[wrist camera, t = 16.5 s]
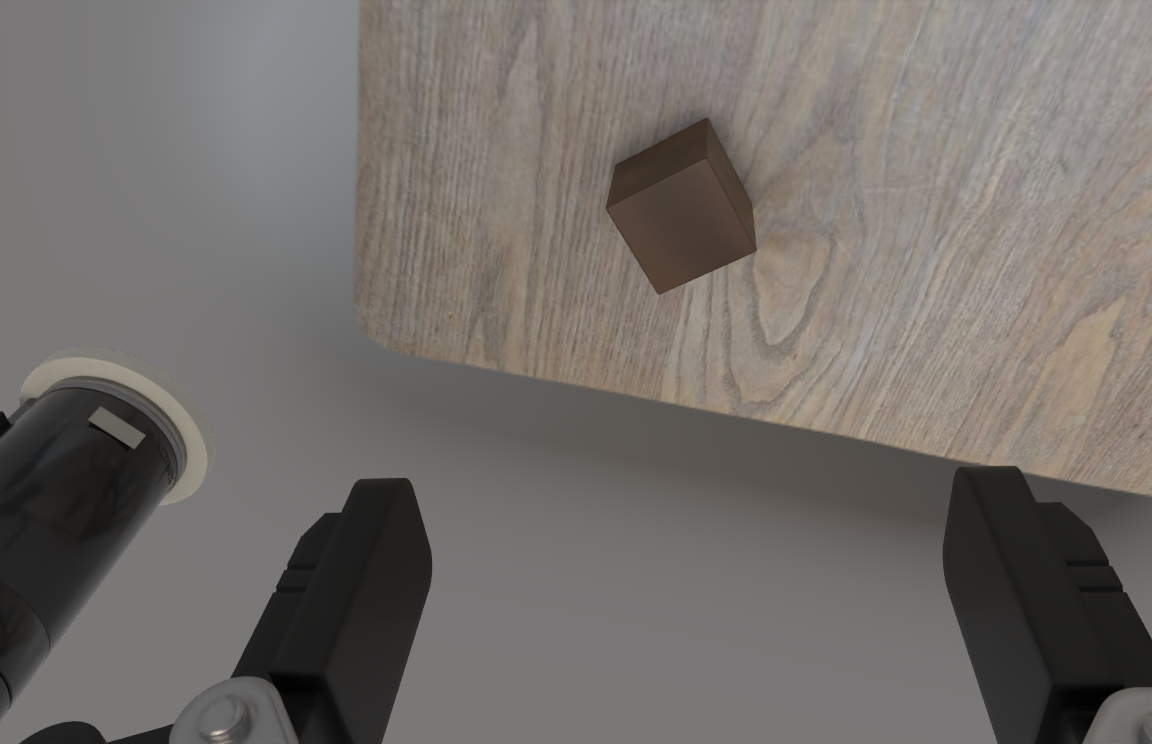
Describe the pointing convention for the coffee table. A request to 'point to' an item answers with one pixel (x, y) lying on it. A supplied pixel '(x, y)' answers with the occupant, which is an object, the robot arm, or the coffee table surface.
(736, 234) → the walnut block
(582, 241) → the coffee table surface
